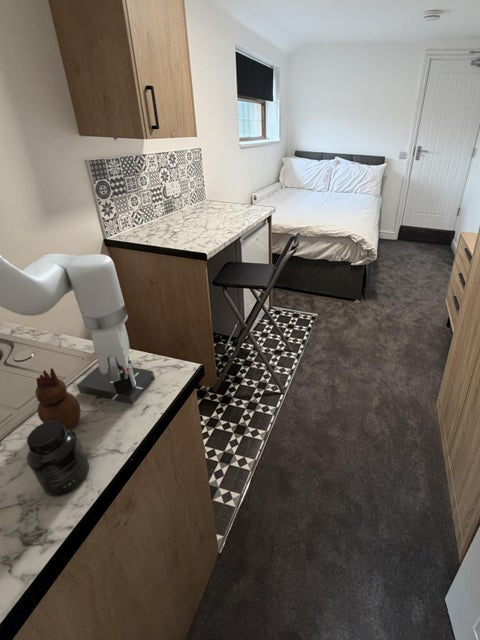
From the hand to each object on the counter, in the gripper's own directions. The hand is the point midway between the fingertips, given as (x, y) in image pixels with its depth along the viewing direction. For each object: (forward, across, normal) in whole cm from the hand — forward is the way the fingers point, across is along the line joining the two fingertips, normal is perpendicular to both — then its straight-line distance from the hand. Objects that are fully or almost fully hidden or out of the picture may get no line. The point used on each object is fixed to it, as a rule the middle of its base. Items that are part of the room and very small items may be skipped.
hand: (125, 382), depth 73 cm
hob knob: (+1, 0, 0) cm, 1 cm away
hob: (+3, -4, -2) cm, 5 cm away
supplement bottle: (+4, +17, -9) cm, 20 cm away
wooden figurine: (+4, +4, -12) cm, 13 cm away
